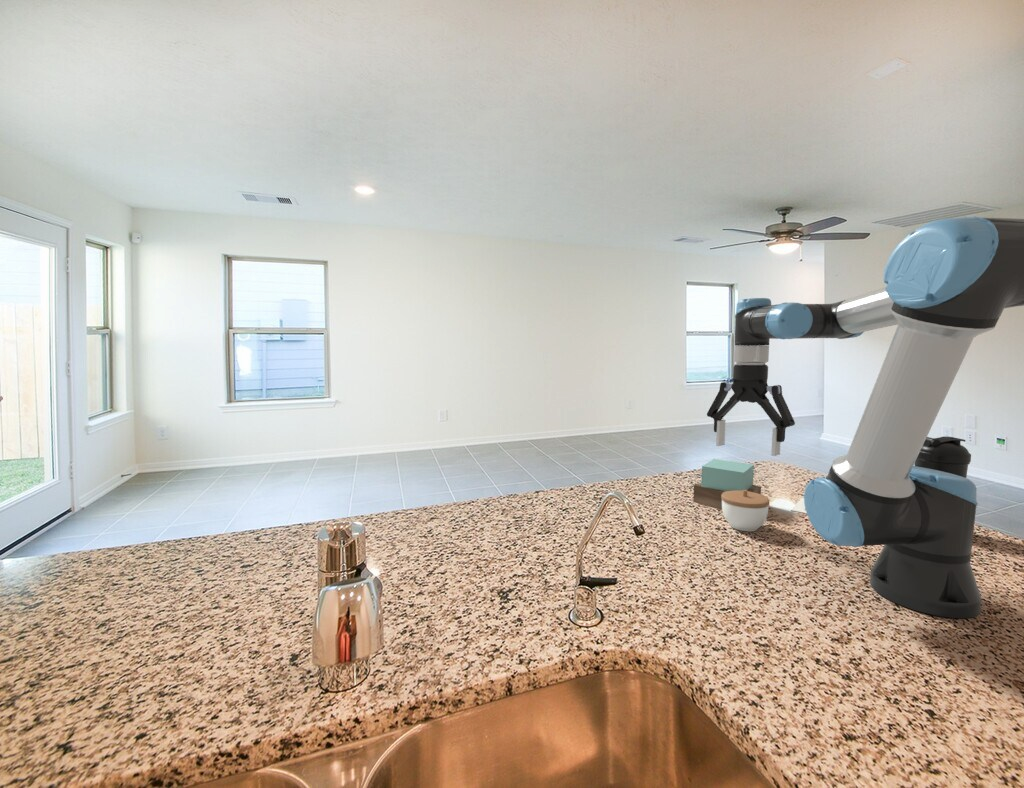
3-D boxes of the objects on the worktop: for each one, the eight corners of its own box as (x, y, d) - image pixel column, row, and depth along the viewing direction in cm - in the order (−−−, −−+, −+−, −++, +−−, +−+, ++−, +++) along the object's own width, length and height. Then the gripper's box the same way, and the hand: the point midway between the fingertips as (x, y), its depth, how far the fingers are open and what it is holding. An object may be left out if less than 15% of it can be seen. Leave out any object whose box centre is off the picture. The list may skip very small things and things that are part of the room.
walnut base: (737, 513, 127) (738, 495, 127) (693, 501, 138) (693, 484, 137) (760, 503, 135) (761, 486, 135) (717, 492, 146) (717, 476, 145)
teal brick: (742, 494, 128) (743, 472, 128) (701, 486, 135) (701, 466, 135) (753, 484, 137) (753, 464, 136) (713, 478, 144) (714, 458, 143)
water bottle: (976, 539, 110) (985, 442, 107) (931, 539, 110) (939, 442, 107) (937, 523, 120) (945, 433, 117) (896, 523, 120) (903, 433, 118)
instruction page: (834, 519, 123) (834, 518, 123) (790, 510, 130) (790, 509, 130) (843, 505, 133) (843, 504, 133) (802, 498, 140) (802, 497, 140)
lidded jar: (757, 519, 123) (758, 484, 122) (775, 536, 113) (777, 497, 112) (714, 518, 124) (715, 483, 123) (729, 534, 114) (730, 496, 113)
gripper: (814, 364, 107) (808, 457, 109) (710, 361, 126) (707, 439, 129) (800, 366, 102) (794, 462, 105) (694, 362, 122) (692, 443, 124)
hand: (746, 450), depth 117 cm, fingers open, 13 cm apart
